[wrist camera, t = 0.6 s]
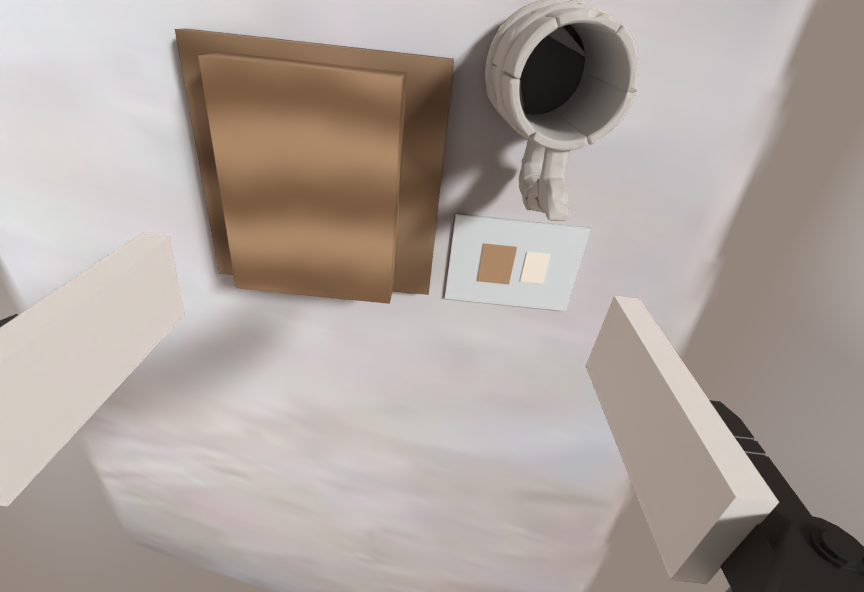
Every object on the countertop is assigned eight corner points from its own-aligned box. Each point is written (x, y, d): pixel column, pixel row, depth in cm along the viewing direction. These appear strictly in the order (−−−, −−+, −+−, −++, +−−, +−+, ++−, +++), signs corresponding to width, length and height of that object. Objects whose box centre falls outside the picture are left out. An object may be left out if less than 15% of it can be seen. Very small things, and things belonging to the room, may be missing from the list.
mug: (610, 1, 28) (701, -9, 18) (571, 185, 34) (622, 254, 24) (490, -4, 28) (512, -18, 18) (473, 180, 34) (482, 247, 24)
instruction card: (455, 213, 36) (455, 215, 36) (590, 227, 36) (591, 229, 36) (444, 297, 40) (444, 299, 40) (564, 309, 40) (565, 311, 40)
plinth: (186, 28, 30) (142, 30, 25) (453, 58, 30) (454, 65, 26) (226, 265, 39) (199, 294, 35) (429, 285, 40) (426, 317, 35)
